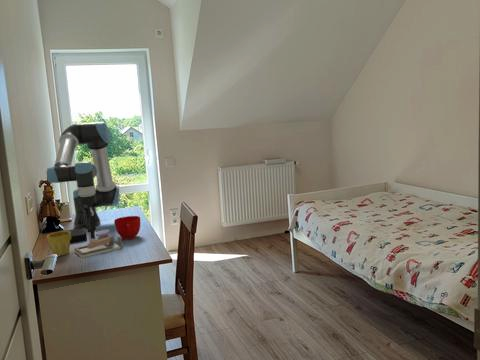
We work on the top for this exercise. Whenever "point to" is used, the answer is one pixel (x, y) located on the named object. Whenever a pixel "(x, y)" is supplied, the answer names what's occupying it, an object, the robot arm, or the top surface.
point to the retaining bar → (101, 242)
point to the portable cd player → (77, 235)
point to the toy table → (102, 234)
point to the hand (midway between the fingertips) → (93, 244)
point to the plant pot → (60, 242)
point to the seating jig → (98, 248)
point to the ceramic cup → (128, 226)
